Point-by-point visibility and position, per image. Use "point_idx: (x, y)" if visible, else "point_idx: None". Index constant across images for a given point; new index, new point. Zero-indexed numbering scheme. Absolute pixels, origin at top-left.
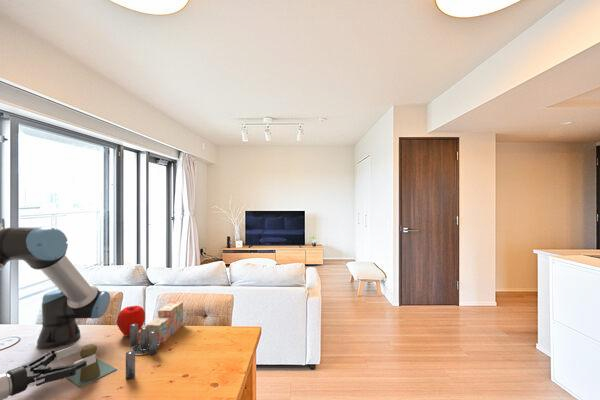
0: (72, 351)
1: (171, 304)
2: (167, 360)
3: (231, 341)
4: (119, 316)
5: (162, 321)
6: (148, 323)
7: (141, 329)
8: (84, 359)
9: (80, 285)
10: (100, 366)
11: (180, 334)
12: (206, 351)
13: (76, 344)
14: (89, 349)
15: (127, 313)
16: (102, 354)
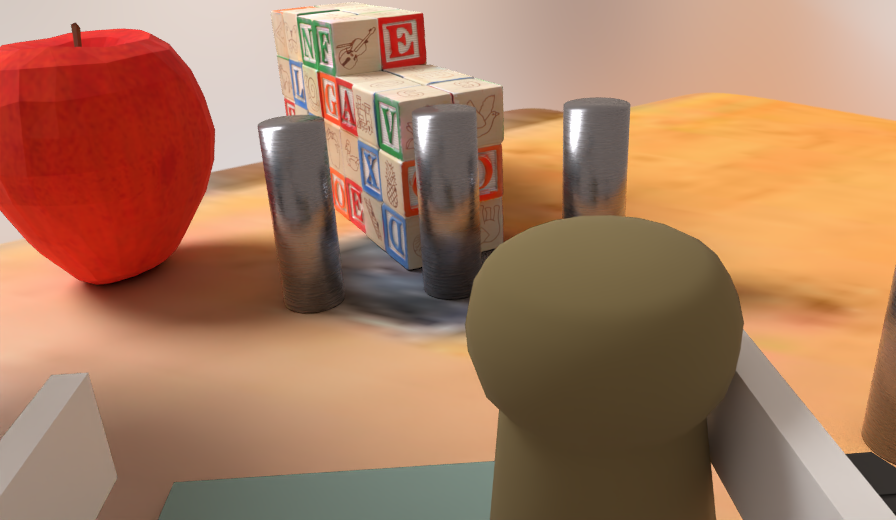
0: (79, 496)
1: (324, 8)
2: (780, 271)
3: (784, 134)
4: (32, 106)
5: (453, 75)
6: (388, 96)
7: (451, 118)
8: (828, 437)
9: None
10: (442, 513)
11: None
12: (817, 183)
13: (54, 376)
14: (723, 268)
15: (110, 63)
16: (181, 440)
